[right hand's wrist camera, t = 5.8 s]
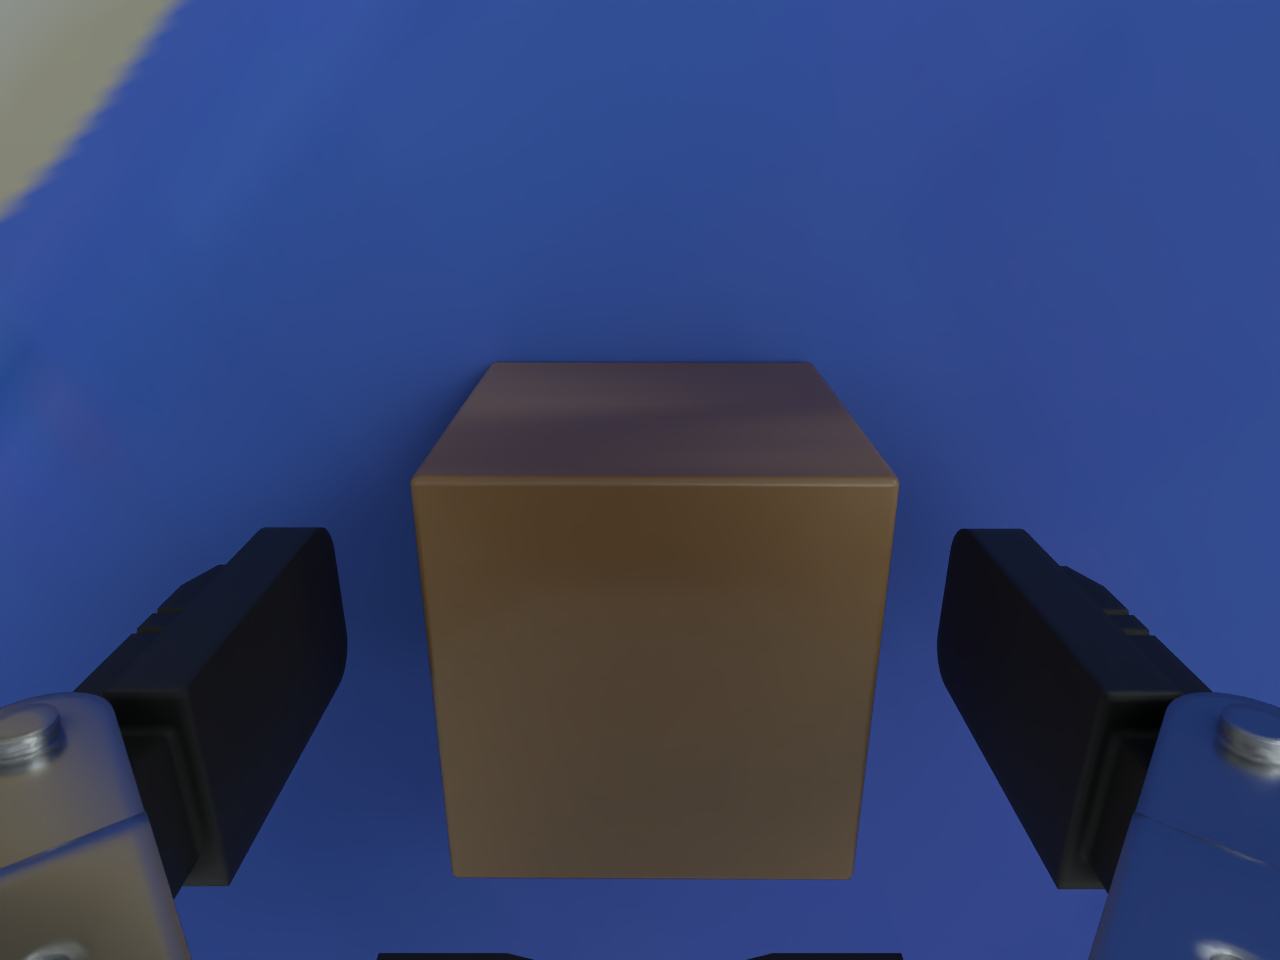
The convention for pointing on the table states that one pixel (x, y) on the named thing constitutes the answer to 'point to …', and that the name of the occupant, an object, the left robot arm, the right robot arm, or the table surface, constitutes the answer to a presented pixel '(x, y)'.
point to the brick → (653, 620)
